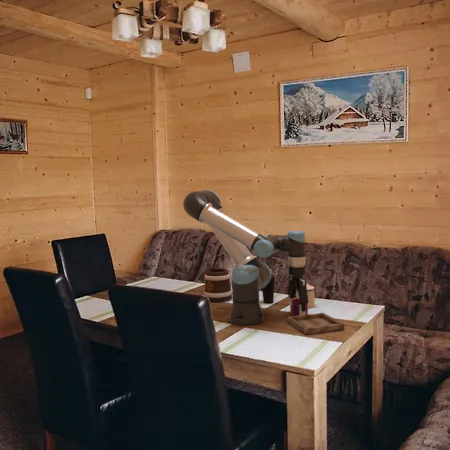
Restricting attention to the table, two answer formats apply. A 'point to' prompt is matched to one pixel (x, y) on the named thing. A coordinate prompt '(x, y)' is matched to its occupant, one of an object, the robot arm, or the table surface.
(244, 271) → the robot arm
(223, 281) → the mug
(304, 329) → the walnut tray
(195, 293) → the table surface
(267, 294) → the drinking cup
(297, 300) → the cup
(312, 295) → the teacup with lid
